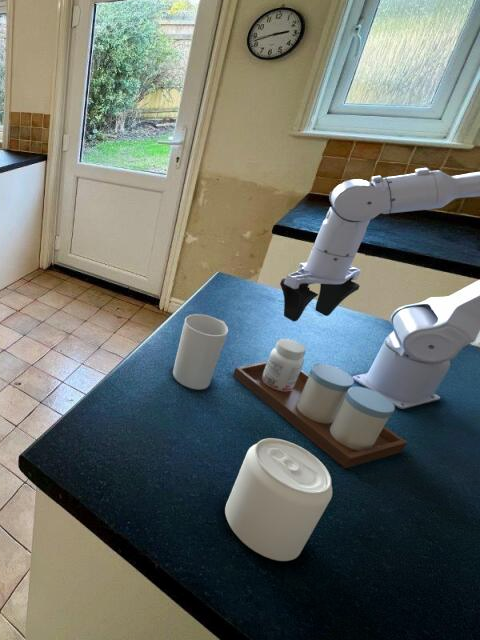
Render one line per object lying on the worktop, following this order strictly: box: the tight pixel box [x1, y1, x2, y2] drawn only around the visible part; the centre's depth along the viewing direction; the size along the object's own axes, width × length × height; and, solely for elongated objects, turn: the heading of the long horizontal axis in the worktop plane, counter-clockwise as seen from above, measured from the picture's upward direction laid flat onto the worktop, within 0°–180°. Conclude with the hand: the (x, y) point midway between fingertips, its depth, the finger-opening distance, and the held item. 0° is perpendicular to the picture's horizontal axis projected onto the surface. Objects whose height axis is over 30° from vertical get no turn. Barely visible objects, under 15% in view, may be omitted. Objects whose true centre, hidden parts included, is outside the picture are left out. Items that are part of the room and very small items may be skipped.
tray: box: [232, 360, 408, 469], centre depth 70 cm, size 11×20×2 cm, turn 14°
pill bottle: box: [262, 338, 307, 392], centre depth 73 cm, size 5×5×8 cm
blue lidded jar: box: [330, 386, 396, 451], centre depth 62 cm, size 5×5×8 cm
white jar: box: [297, 363, 355, 423], centre depth 67 cm, size 5×5×8 cm
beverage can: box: [224, 437, 333, 562], centre depth 50 cm, size 8×8×12 cm
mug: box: [172, 313, 229, 390], centre depth 75 cm, size 10×7×12 cm, turn 118°
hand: (306, 315), depth 77 cm, fingers open, 7 cm apart
